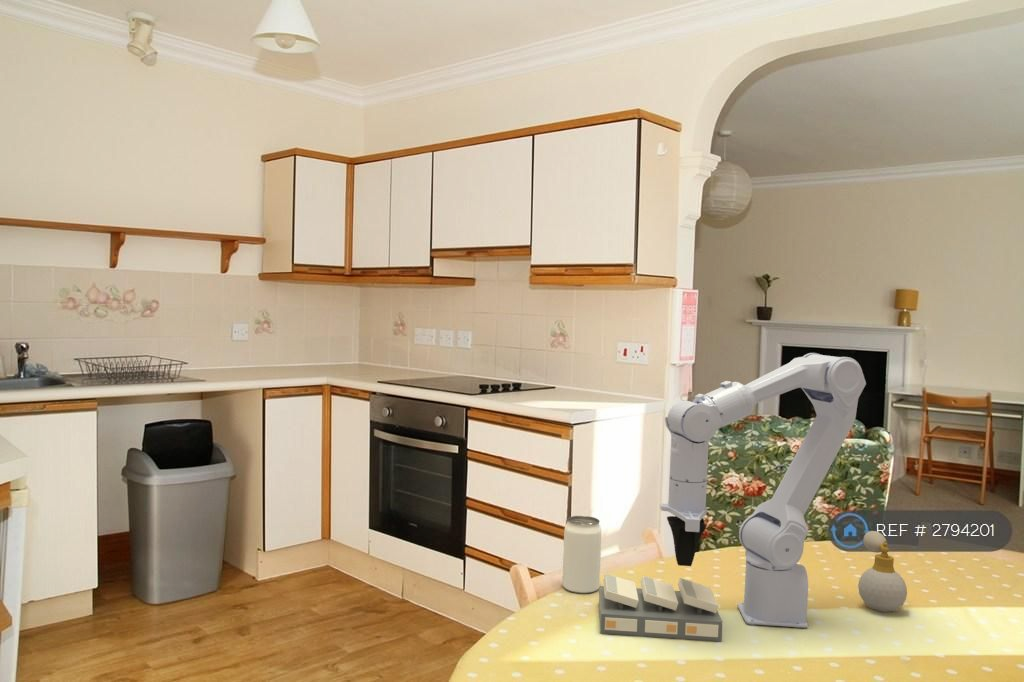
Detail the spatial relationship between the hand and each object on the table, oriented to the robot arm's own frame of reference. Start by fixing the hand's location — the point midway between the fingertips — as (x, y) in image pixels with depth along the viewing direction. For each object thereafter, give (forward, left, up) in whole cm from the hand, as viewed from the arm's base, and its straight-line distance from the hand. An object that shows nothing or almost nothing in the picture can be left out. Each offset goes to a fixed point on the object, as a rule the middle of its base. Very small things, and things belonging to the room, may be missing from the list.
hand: (684, 564), depth 127 cm
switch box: (+4, 0, -9) cm, 10 cm away
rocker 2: (-2, 0, -5) cm, 5 cm away
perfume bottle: (-34, -13, -10) cm, 38 cm away
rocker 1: (+10, 0, -5) cm, 11 cm away
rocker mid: (+4, 0, -5) cm, 6 cm away
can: (+16, -13, -10) cm, 23 cm away
